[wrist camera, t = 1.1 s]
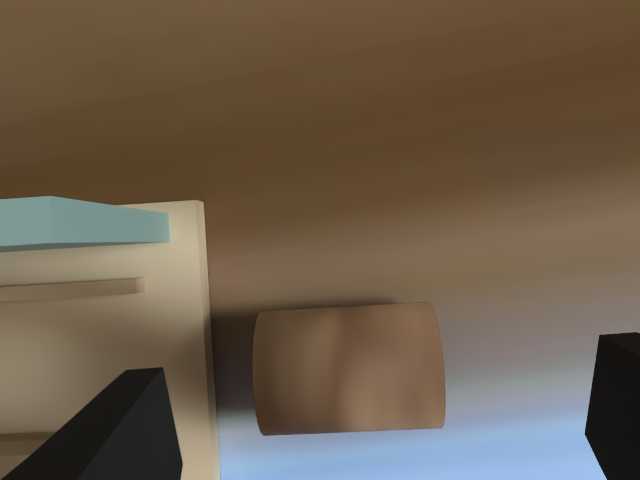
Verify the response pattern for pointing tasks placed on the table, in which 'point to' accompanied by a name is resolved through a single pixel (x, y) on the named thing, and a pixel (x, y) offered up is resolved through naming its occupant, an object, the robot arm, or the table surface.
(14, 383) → the roller bed
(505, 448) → the table surface
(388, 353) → the roller
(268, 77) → the table surface
